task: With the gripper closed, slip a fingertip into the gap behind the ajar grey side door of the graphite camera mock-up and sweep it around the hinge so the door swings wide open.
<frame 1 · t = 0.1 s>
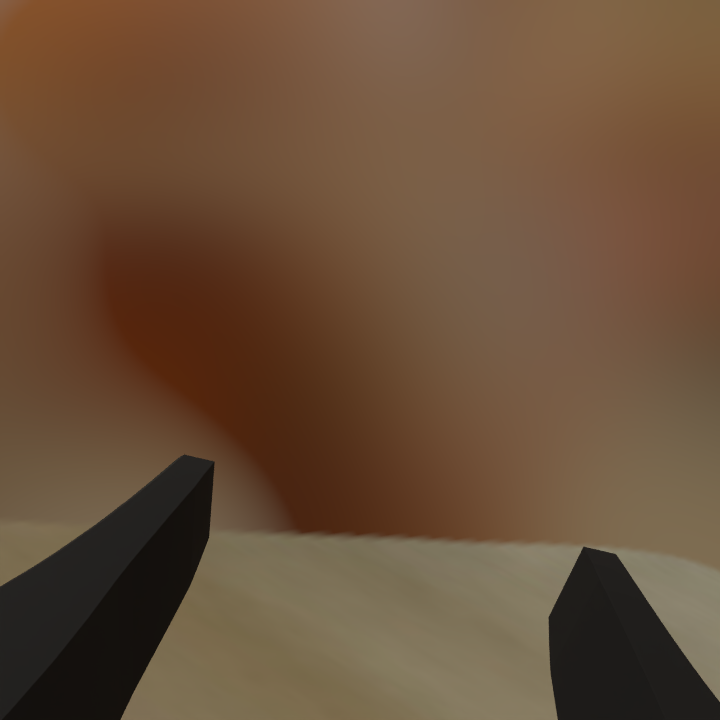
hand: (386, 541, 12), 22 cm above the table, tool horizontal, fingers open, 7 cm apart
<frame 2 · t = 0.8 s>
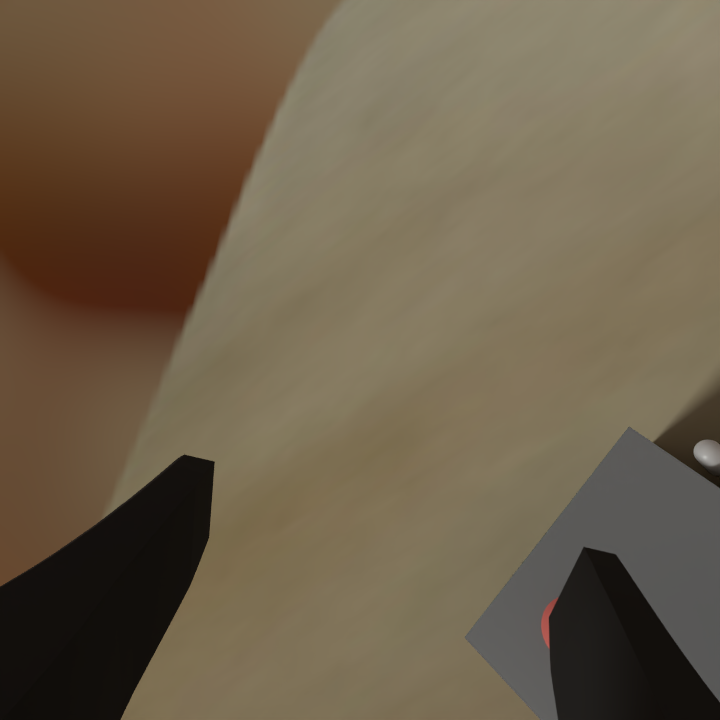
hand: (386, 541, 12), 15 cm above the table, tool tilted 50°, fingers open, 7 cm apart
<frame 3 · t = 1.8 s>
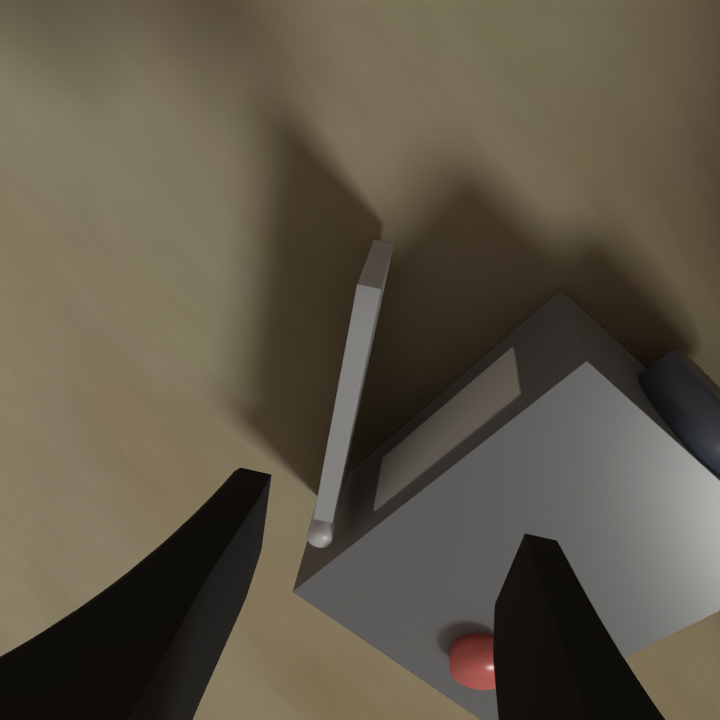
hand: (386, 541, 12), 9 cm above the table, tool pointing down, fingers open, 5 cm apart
side door: (349, 398, 19), point 2 cm above the table, hinge at 30.0°
camera body: (517, 481, 23), on the table
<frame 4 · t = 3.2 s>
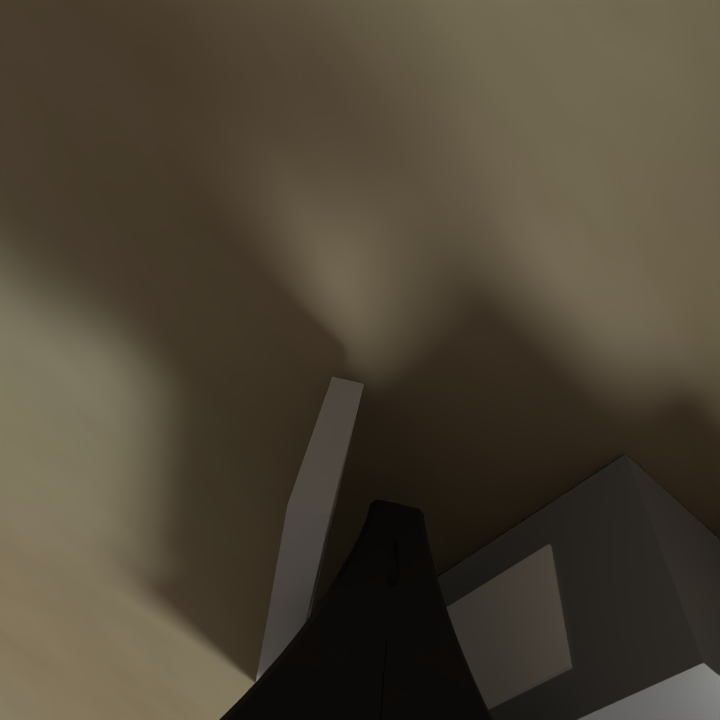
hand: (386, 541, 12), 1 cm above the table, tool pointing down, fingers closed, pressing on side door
side door: (293, 615, 12), point 2 cm above the table, hinge at 30.1°, touching gripper
camera body: (542, 690, 16), on the table
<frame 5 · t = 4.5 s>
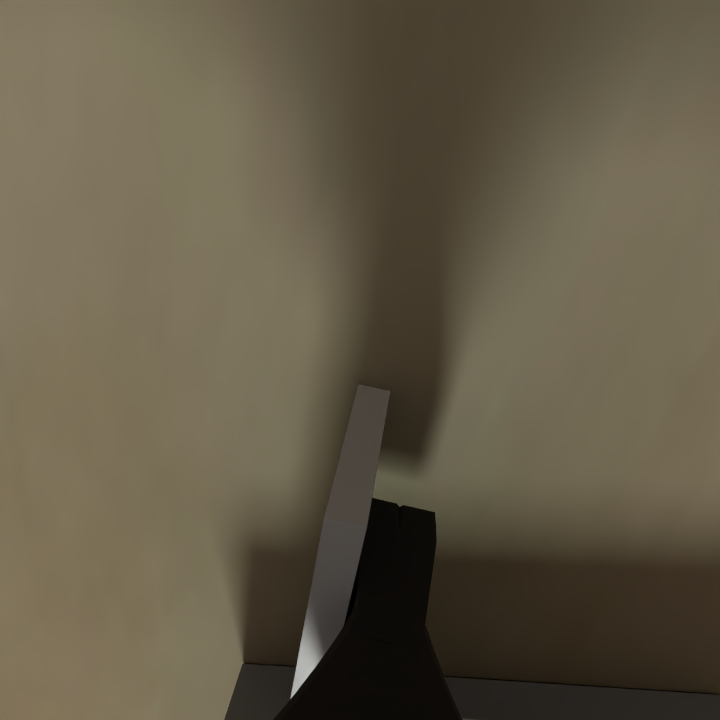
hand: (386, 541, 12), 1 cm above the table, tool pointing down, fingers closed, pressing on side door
side door: (324, 624, 12), point 2 cm above the table, hinge at 75.5°, touching gripper
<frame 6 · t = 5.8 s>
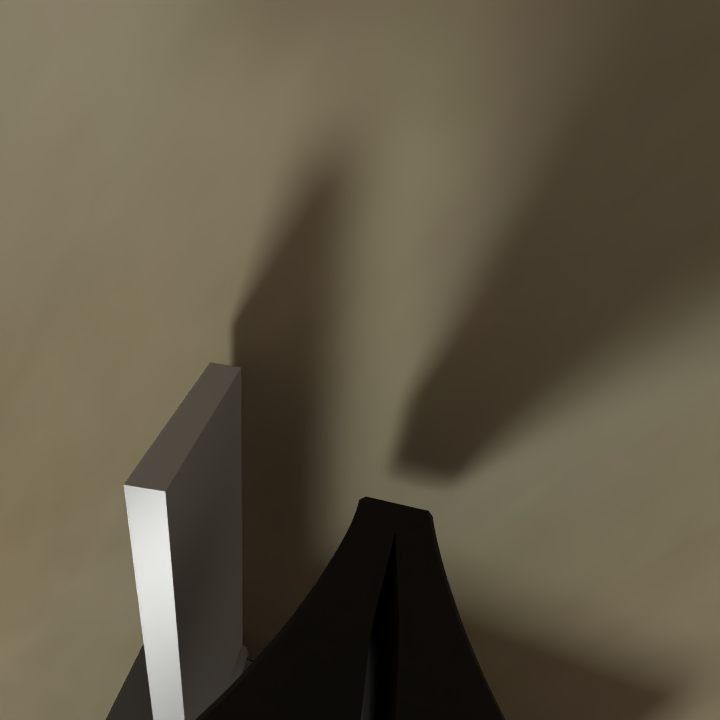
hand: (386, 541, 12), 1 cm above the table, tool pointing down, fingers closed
side door: (200, 603, 12), point 2 cm above the table, hinge at 105.2°
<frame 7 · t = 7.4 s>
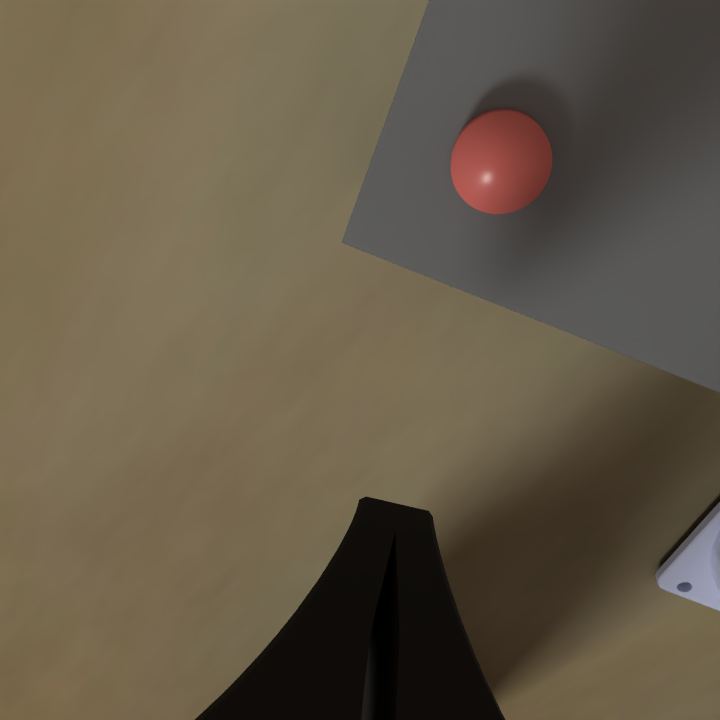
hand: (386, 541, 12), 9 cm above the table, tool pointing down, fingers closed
camera body: (638, 119, 17), on the table
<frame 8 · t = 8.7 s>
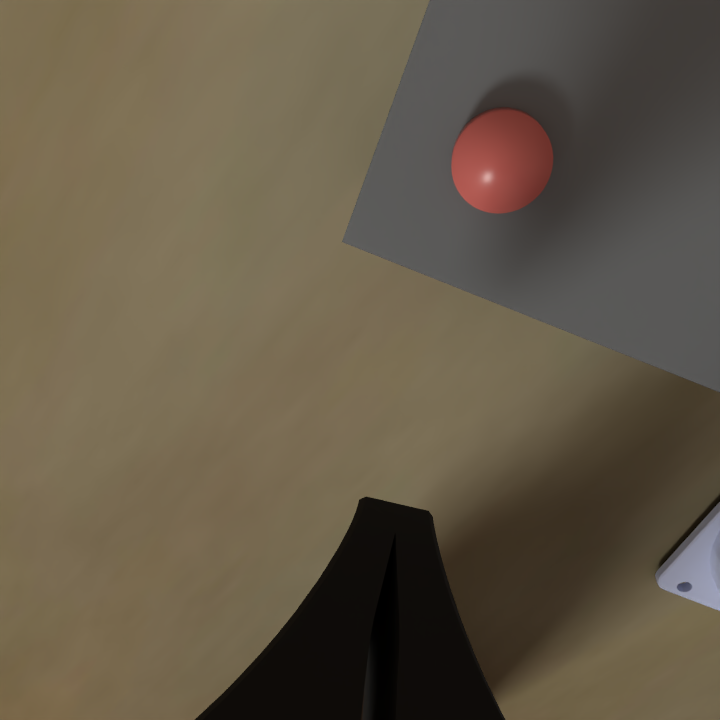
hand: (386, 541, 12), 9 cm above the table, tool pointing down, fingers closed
camera body: (638, 119, 17), on the table
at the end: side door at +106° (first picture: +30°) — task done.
